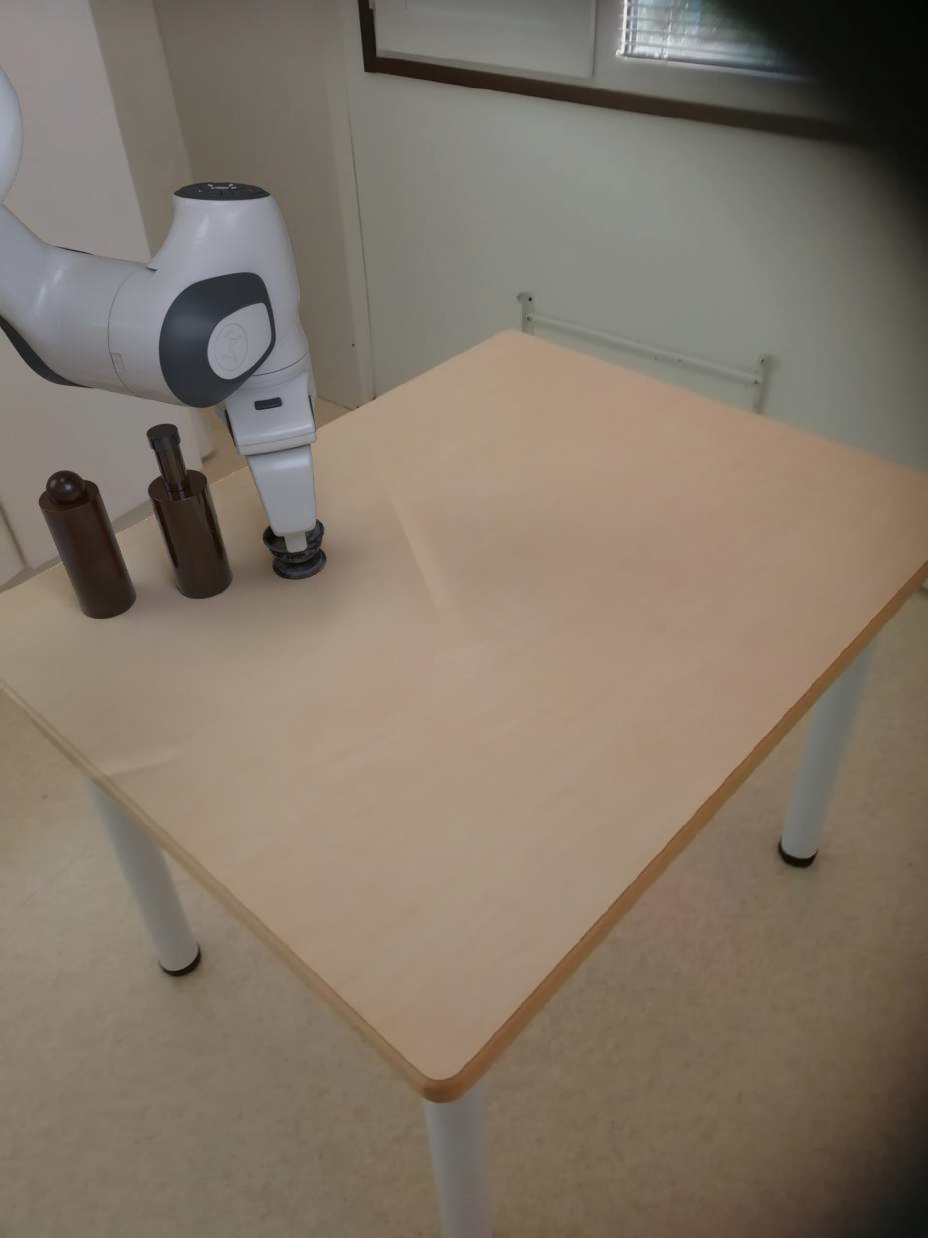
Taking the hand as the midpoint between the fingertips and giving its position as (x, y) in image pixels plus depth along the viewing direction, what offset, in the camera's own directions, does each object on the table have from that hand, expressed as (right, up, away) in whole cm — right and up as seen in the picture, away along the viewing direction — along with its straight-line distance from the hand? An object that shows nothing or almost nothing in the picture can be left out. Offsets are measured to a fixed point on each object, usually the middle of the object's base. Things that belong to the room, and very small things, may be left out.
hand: (289, 518), depth 90 cm
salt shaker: (0, -4, +4) cm, 5 cm away
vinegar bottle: (-8, -6, +2) cm, 10 cm away
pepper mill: (-17, -8, 0) cm, 19 cm away
